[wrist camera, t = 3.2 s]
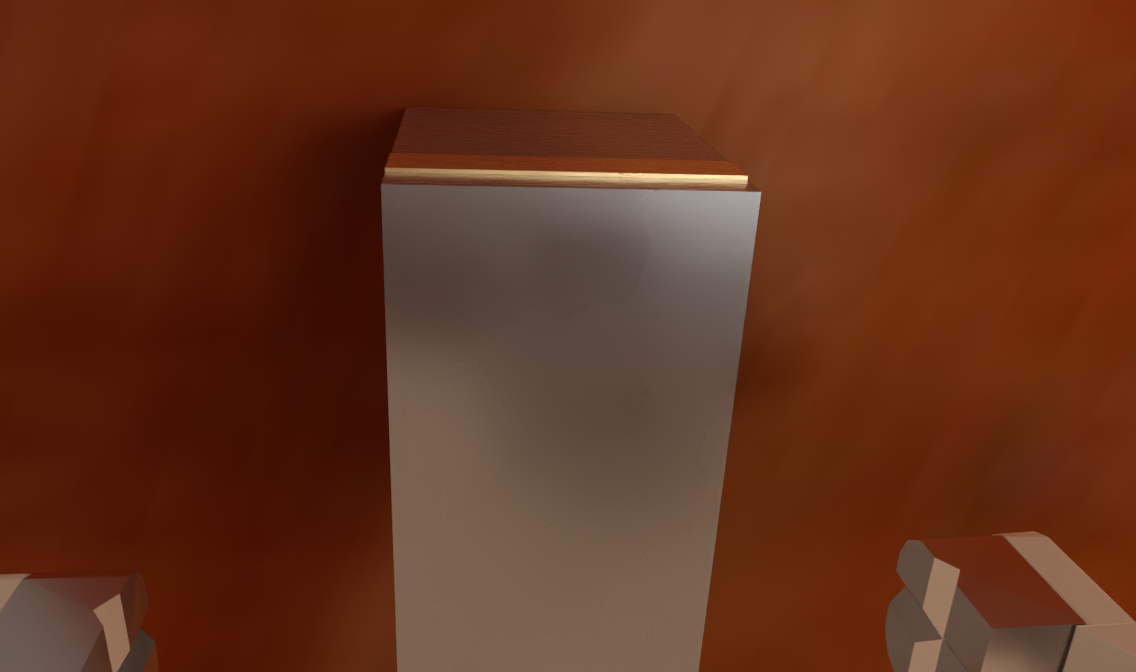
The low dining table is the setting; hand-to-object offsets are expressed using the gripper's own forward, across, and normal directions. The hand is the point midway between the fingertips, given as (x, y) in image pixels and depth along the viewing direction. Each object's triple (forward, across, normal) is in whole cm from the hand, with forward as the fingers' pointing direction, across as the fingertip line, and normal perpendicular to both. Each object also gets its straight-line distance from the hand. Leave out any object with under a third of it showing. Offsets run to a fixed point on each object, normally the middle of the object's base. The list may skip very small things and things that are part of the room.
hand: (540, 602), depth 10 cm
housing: (+8, -1, 0) cm, 8 cm away
